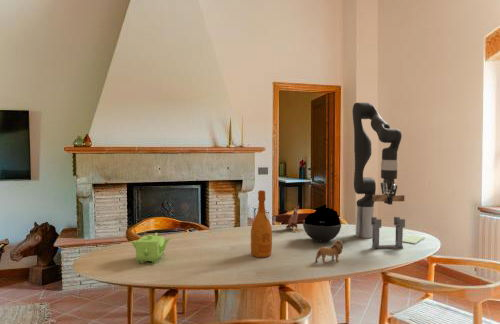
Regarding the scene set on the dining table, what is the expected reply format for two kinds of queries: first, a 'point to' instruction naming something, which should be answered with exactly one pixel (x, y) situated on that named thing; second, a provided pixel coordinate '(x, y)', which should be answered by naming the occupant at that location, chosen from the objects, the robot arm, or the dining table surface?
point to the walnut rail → (385, 198)
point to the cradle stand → (399, 233)
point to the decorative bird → (291, 218)
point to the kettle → (150, 248)
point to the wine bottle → (261, 230)
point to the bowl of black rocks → (322, 224)
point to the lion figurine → (330, 251)
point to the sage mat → (412, 239)
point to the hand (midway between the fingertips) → (388, 203)
